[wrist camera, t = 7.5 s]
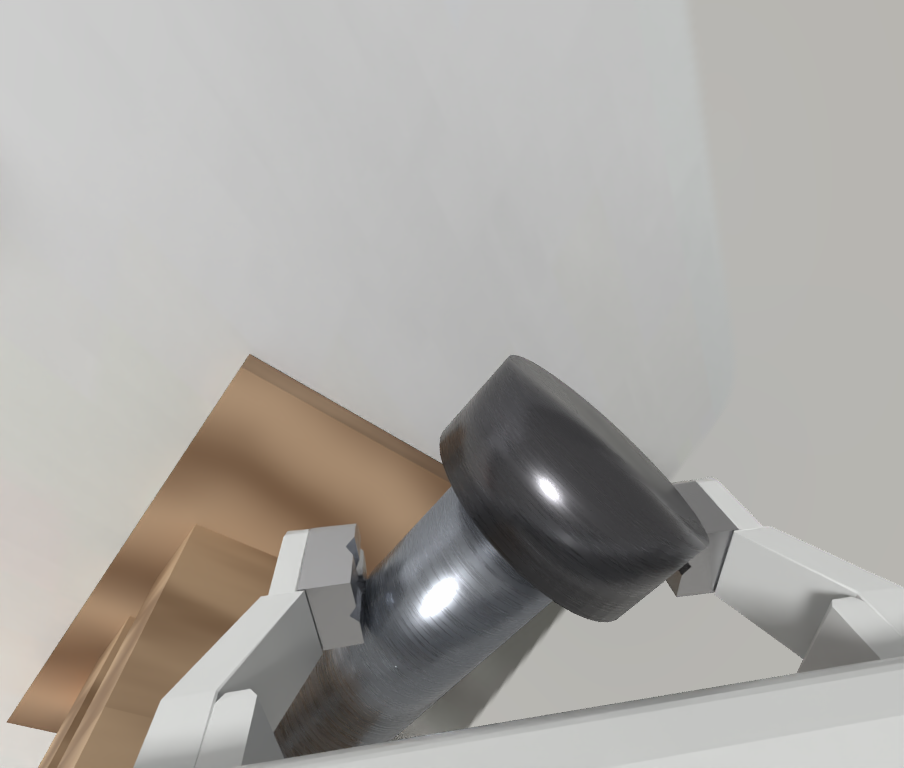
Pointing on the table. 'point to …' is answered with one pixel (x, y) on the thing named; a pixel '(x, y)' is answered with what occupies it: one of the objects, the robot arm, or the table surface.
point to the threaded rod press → (218, 554)
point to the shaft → (498, 556)
